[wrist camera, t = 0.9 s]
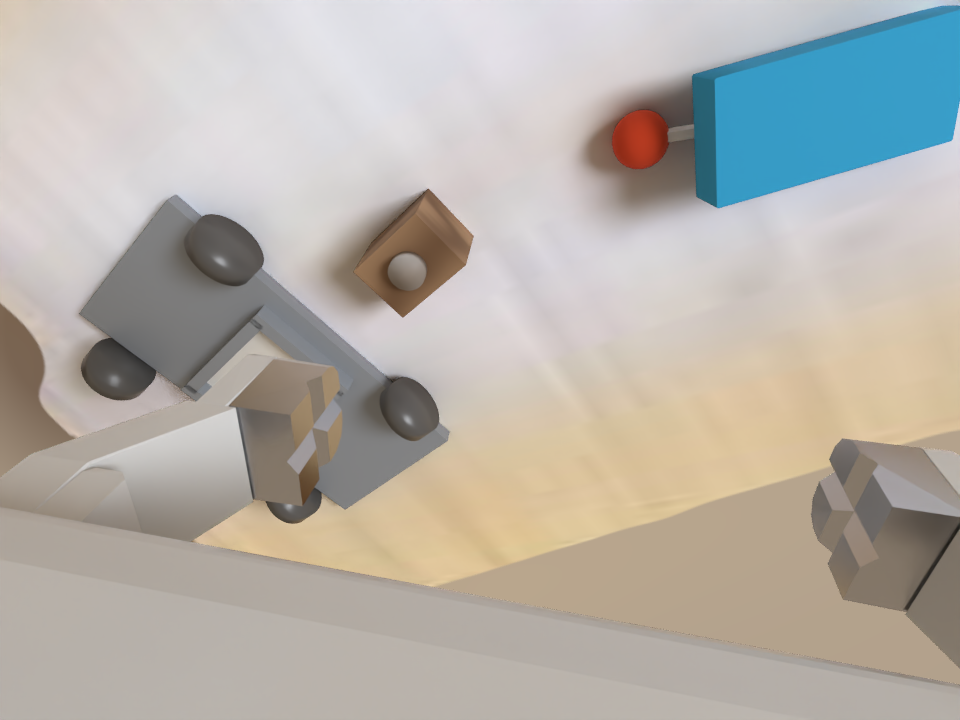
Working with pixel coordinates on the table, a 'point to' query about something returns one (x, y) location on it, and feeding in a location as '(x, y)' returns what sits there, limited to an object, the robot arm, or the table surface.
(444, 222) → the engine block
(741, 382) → the table surface
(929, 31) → the lever
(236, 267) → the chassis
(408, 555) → the table surface
